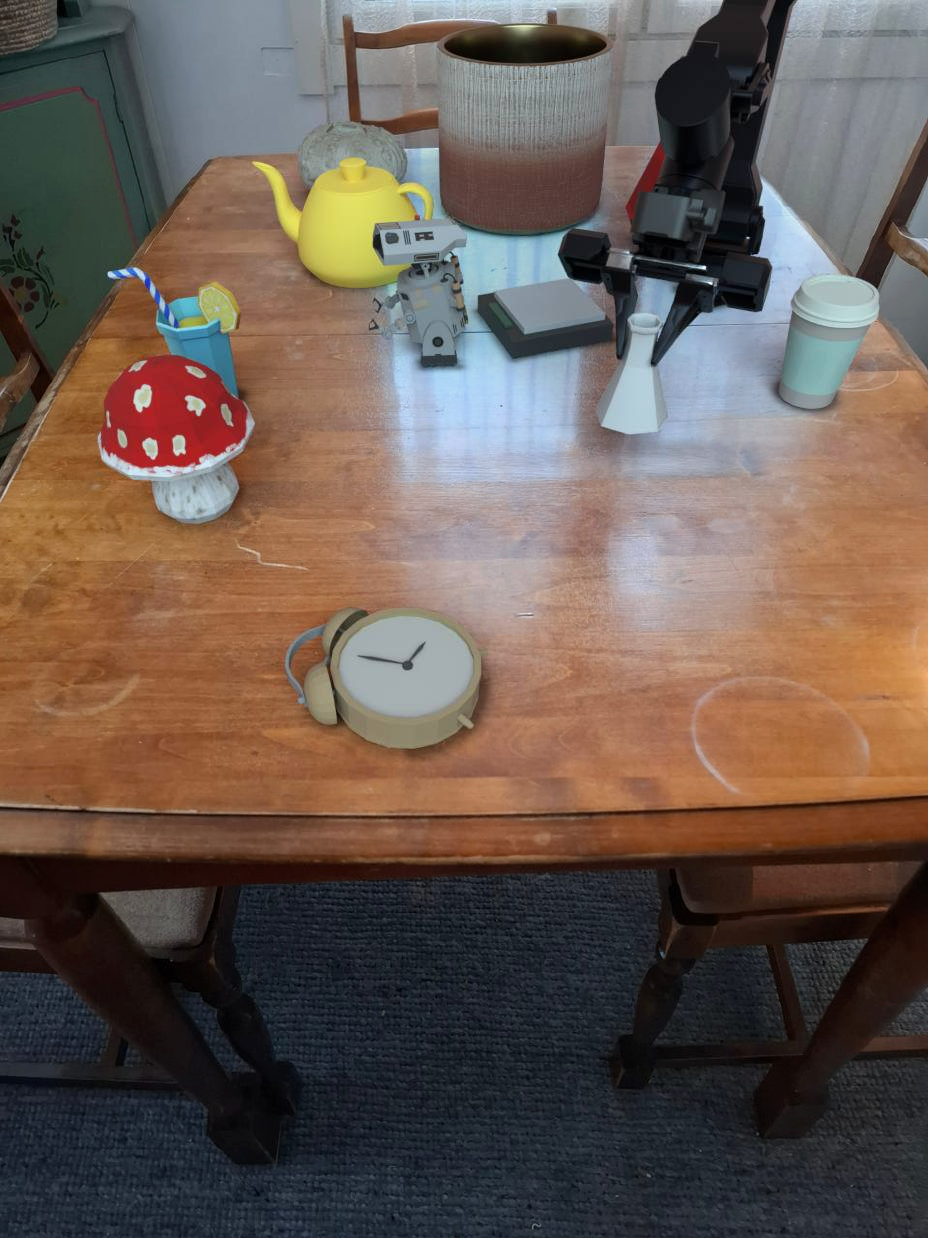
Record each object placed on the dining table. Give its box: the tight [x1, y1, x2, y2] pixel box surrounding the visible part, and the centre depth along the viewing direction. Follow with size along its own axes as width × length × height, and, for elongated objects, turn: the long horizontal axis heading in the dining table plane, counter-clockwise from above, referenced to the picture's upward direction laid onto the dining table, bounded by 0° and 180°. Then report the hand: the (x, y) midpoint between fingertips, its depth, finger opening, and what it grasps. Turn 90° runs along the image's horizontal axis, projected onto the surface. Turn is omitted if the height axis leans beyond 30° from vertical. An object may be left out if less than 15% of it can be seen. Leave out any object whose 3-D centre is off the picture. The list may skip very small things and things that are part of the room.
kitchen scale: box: [477, 277, 614, 360], centre depth 100 cm, size 13×13×3 cm
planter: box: [435, 22, 615, 236], centre depth 120 cm, size 25×25×22 cm
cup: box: [107, 266, 242, 399], centre depth 85 cm, size 14×8×15 cm, turn 80°
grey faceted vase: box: [594, 311, 669, 435], centre depth 76 cm, size 7×7×10 cm
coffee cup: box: [778, 273, 880, 410], centre depth 85 cm, size 8×8×12 cm
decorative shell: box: [296, 119, 409, 192], centre depth 130 cm, size 18×18×10 cm
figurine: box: [368, 214, 469, 368], centre depth 92 cm, size 9×12×15 cm
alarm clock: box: [284, 606, 489, 750], centre depth 61 cm, size 11×5×15 cm
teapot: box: [251, 157, 435, 289], centre depth 109 cm, size 25×18×14 cm
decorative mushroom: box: [97, 354, 256, 525], centre depth 72 cm, size 14×14×15 cm
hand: (635, 362), depth 74 cm, fingers closed on grey faceted vase, 3 cm apart
